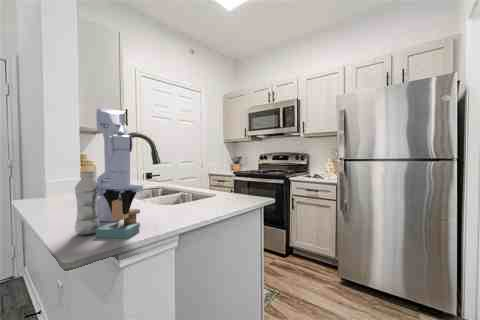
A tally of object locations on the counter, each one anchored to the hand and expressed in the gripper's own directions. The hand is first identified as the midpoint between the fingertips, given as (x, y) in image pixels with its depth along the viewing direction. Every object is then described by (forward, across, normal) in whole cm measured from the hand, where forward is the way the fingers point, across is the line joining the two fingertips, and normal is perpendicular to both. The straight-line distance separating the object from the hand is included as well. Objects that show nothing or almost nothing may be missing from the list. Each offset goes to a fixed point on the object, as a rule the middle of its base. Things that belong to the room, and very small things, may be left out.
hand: (120, 213), depth 72 cm
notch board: (+6, 0, -1) cm, 6 cm away
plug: (+2, 0, 0) cm, 2 cm away
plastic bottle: (+7, -10, -2) cm, 12 cm away
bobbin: (+6, 0, +6) cm, 9 cm away
